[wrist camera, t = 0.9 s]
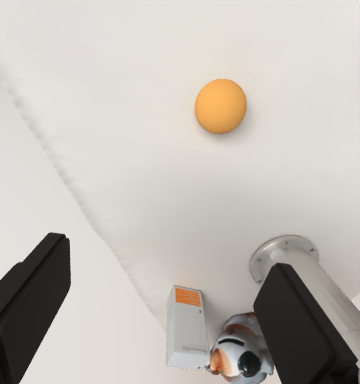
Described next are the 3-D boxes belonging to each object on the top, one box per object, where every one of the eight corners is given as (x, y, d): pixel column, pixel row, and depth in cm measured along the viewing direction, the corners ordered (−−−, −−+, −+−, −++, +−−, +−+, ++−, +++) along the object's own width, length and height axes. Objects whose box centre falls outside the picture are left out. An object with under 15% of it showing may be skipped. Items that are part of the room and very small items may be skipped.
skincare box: (201, 289, 42) (212, 357, 31) (194, 303, 44) (202, 372, 33) (172, 284, 41) (173, 352, 30) (166, 298, 43) (165, 367, 32)
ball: (239, 124, 29) (255, 131, 23) (196, 133, 29) (202, 143, 23) (235, 75, 26) (252, 70, 21) (188, 86, 26) (193, 84, 21)
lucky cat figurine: (225, 352, 52) (211, 415, 40) (209, 307, 52) (190, 357, 39) (289, 353, 46) (298, 429, 33) (271, 303, 46) (273, 360, 33)
